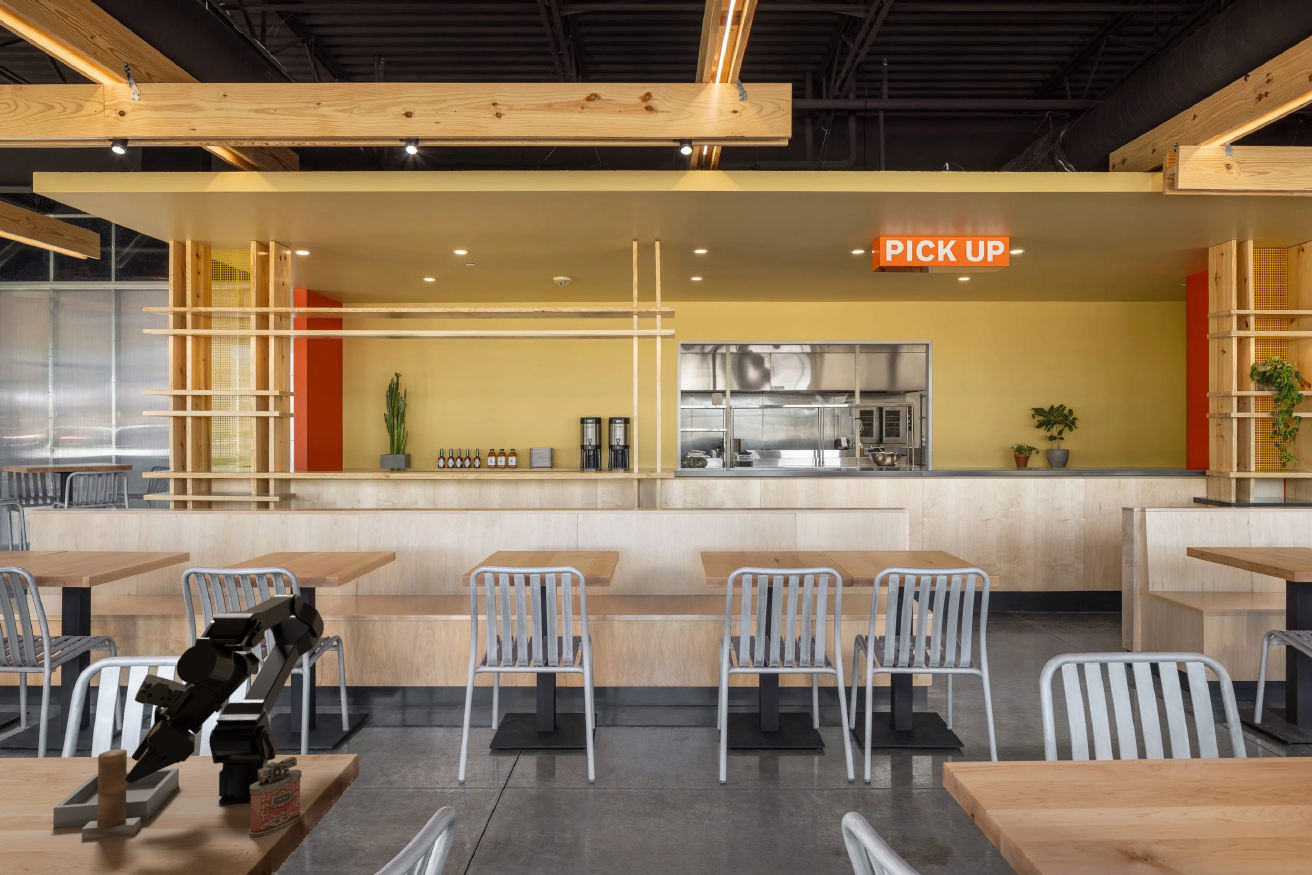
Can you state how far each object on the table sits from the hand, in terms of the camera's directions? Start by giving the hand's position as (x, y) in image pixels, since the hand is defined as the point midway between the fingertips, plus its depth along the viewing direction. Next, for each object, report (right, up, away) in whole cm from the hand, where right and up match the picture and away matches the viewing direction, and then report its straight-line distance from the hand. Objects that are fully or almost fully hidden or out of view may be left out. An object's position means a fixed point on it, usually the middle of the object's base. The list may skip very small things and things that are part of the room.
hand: (130, 769), depth 122 cm
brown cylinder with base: (-2, -9, -1) cm, 10 cm away
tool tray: (-7, -9, +8) cm, 14 cm away
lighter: (+22, -9, +1) cm, 24 cm away
